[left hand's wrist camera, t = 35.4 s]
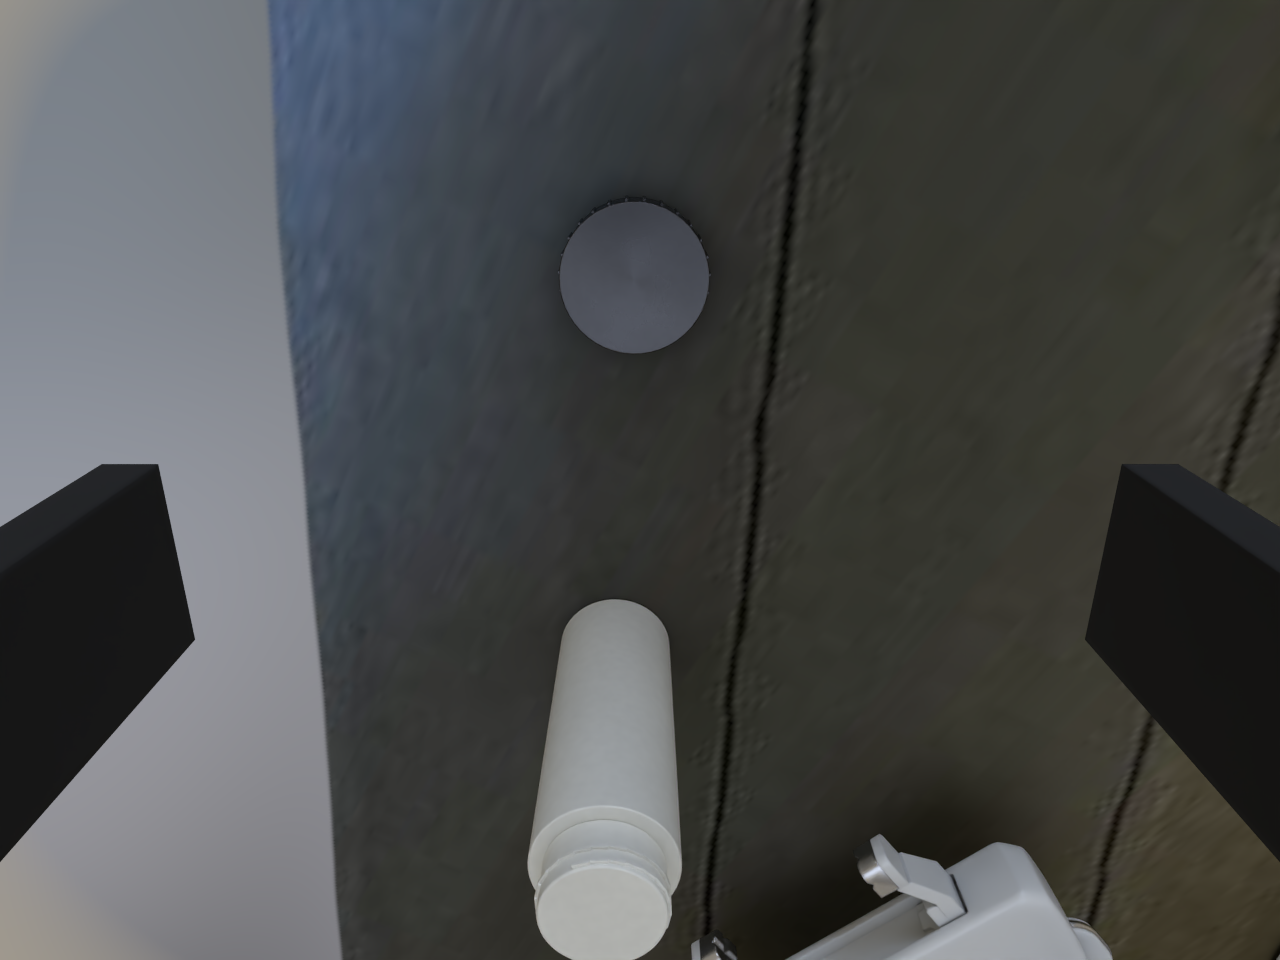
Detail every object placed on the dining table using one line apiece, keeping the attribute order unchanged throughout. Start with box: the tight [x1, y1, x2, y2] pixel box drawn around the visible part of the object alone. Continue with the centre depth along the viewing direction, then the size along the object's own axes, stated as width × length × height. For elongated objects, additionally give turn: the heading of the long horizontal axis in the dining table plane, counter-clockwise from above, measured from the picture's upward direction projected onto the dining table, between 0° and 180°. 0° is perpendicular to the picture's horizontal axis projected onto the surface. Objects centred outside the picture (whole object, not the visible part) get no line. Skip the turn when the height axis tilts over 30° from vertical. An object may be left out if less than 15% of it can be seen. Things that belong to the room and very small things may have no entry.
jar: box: [528, 599, 682, 960], centre depth 37 cm, size 5×5×16 cm
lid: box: [558, 196, 711, 354], centre depth 37 cm, size 6×6×2 cm
